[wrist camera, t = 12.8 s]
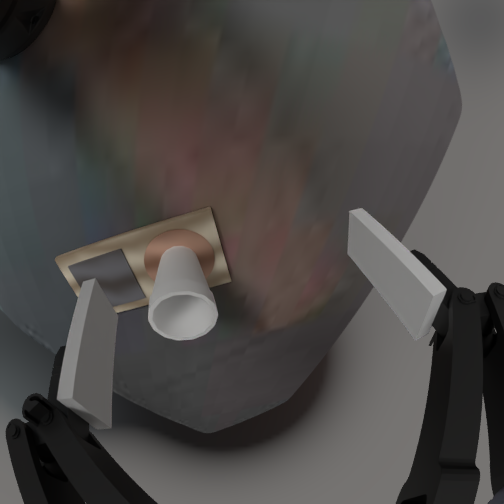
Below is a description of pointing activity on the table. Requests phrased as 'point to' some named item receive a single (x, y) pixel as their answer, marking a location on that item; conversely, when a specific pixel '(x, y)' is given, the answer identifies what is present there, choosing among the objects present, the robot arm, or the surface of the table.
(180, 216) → the sorting board
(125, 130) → the table surface
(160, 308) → the foam cup
